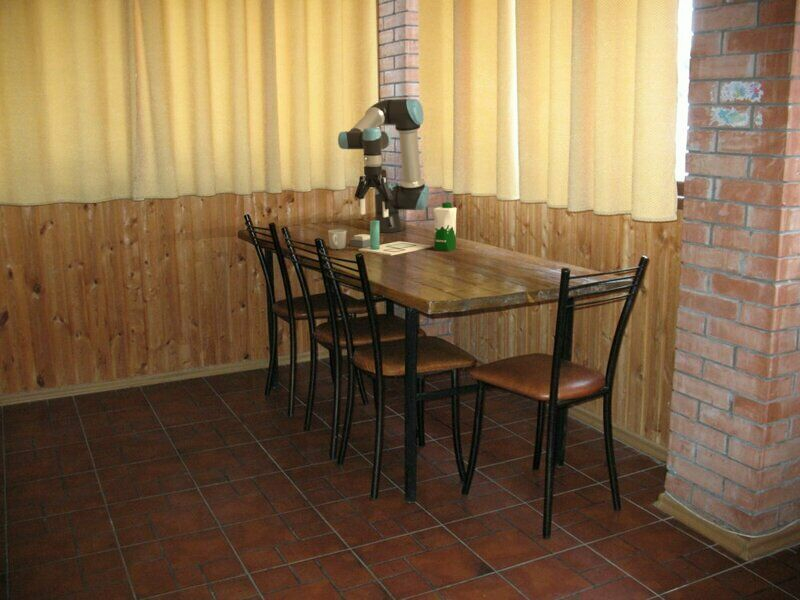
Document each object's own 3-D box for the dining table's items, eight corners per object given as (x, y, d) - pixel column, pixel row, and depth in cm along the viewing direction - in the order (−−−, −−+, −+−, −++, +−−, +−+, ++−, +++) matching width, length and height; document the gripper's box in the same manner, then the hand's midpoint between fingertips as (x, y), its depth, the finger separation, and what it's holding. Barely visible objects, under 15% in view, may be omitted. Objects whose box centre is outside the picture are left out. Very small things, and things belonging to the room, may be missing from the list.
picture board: (399, 243, 395) (399, 240, 394) (431, 247, 382) (431, 245, 382) (358, 250, 376) (358, 248, 376) (391, 255, 364) (391, 253, 363)
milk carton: (458, 248, 378) (458, 202, 373) (449, 252, 370) (449, 205, 366) (440, 247, 382) (440, 201, 377) (431, 250, 374) (431, 204, 370)
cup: (342, 251, 375) (341, 233, 373) (324, 251, 376) (324, 232, 374) (348, 247, 385) (348, 229, 383) (331, 247, 387) (330, 229, 385)
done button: (362, 240, 393) (362, 234, 392) (371, 241, 389) (370, 235, 389) (353, 242, 389) (353, 235, 388) (362, 243, 385) (362, 236, 385)
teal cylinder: (374, 247, 378) (374, 220, 375) (381, 248, 375) (381, 221, 373) (368, 248, 375) (368, 221, 372) (375, 249, 373) (374, 221, 370)
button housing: (362, 243, 395) (362, 236, 394) (375, 245, 390) (375, 238, 389) (349, 245, 389) (349, 239, 389) (362, 247, 384) (362, 240, 383)
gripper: (345, 164, 372) (347, 214, 378) (388, 167, 356) (389, 219, 361) (357, 163, 378) (359, 212, 383) (400, 166, 362) (401, 216, 367)
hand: (374, 215), depth 372 cm, fingers open, 13 cm apart
